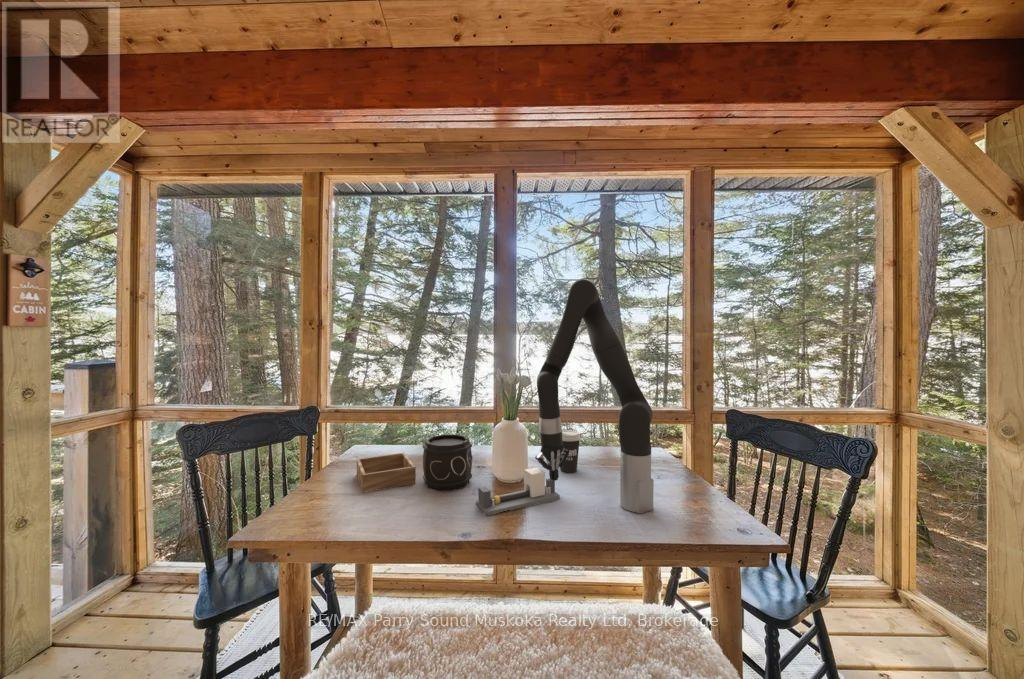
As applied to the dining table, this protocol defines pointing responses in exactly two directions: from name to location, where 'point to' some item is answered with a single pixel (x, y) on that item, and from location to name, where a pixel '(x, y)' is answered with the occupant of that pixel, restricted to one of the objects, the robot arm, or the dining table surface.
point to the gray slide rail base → (513, 499)
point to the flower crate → (385, 471)
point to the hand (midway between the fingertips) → (554, 479)
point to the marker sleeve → (534, 481)
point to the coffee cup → (570, 450)
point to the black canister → (447, 462)
